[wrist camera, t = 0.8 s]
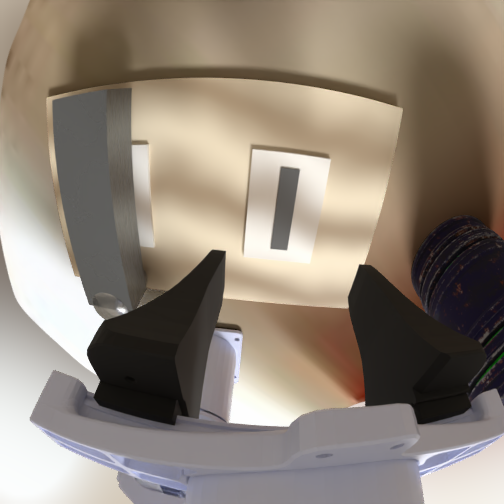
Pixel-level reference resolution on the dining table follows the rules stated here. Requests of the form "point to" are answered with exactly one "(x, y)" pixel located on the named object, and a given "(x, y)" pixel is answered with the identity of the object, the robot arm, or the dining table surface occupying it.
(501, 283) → the storage jar
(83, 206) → the grey square pillar
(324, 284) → the label board
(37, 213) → the dining table surface
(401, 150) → the dining table surface
